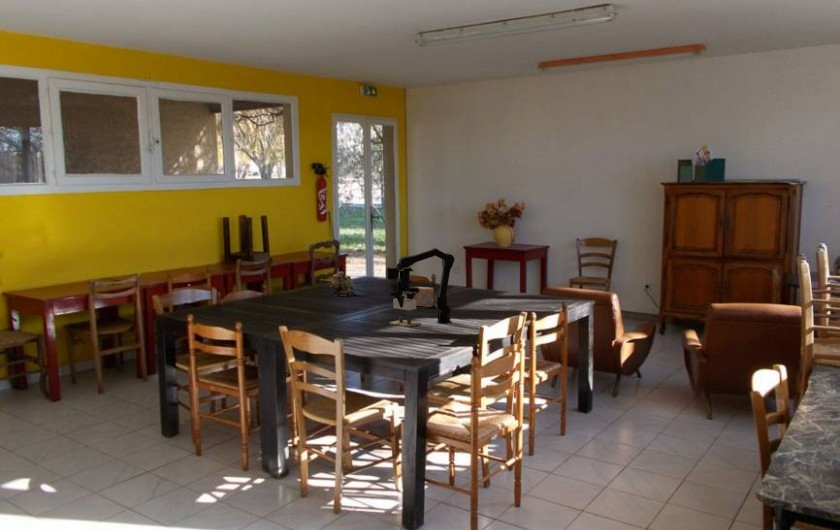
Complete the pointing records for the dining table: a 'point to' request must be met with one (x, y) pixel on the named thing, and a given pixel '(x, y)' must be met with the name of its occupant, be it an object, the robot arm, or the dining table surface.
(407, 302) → the block
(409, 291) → the robot arm
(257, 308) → the dining table surface
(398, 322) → the base
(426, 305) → the stack of blocks
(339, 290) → the owl figurine
